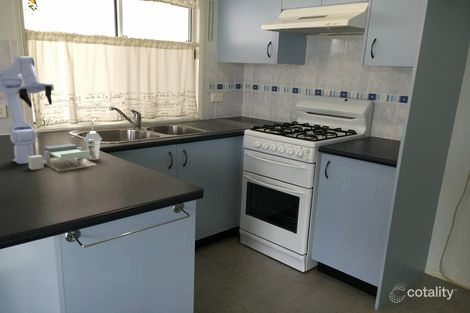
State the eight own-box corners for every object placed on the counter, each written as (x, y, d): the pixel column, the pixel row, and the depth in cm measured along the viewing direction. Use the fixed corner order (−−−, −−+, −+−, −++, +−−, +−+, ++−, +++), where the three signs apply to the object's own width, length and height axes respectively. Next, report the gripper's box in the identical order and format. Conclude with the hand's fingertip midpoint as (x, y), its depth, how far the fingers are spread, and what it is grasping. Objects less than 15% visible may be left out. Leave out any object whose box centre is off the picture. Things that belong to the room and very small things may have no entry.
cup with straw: (81, 159, 191) (78, 119, 186) (95, 155, 199) (93, 117, 194) (93, 161, 187) (91, 120, 182) (107, 157, 195) (105, 118, 190)
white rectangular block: (28, 168, 172) (27, 156, 170) (40, 166, 175) (39, 154, 174) (32, 169, 169) (30, 157, 168) (43, 168, 172) (42, 156, 171)
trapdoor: (45, 155, 184) (44, 146, 183) (72, 152, 193) (71, 143, 192) (62, 163, 169) (61, 154, 168) (90, 159, 178) (90, 150, 177)
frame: (40, 161, 183) (39, 149, 181) (76, 156, 195) (76, 145, 194) (58, 171, 168) (57, 158, 166) (96, 165, 180) (96, 152, 179)
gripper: (11, 74, 154) (21, 100, 150) (49, 71, 162) (60, 96, 158) (11, 86, 159) (21, 111, 155) (48, 82, 168) (58, 106, 163)
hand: (40, 104), depth 157 cm, fingers open, 7 cm apart
